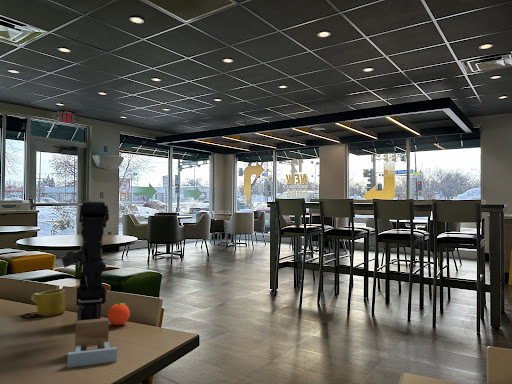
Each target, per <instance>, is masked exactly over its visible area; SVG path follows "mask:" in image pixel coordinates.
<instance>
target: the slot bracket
mask: <svg viewBox="0 0 512 384" xmlns="http://www.w3.org/2000/svg"><path fill="white" fill-rule="evenodd" d="M110 345H111V344H110V341H108V342H104V349H95V350H86V351H81V345H75V344H74V351H70V352H67V365H66V366H67V368H75V367H83V366H89V365H90V366H91V365H98V364H107V363H113V362H114V363H115V362H117V361H118V347H117V346H113V347H111V346H110Z"/></svg>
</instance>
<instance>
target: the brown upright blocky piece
mask: <svg viewBox="0 0 512 384" xmlns="http://www.w3.org/2000/svg"><path fill="white" fill-rule="evenodd" d="M109 327H110V321H109V319H108V317H107V318H105V317H104V318H101V319H92V320H80V321H76V320H75V329H74V330H75V333H74V334H75V336H74V346H75V345H81V351H86V350H95V349H104V342H109V331H110V329H109Z"/></svg>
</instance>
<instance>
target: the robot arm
mask: <svg viewBox="0 0 512 384" xmlns="http://www.w3.org/2000/svg"><path fill="white" fill-rule="evenodd" d="M109 219H110V210H109V207H108V204H107V205H106V202H105V201H94V200H93V201H92V200H91V201H89V200H88V201H87V200H84V201H83V202H82V204H80V208H79V219H78V221H79V223H81V228H82V229H81V237H82V244H81V246H80V247H79V248H80V249H79V250H77V251H72V250H70V251H68V252H65V255H62V256H60V259H61V263H62V266H63V267H64V268H68V267H70V266H72V265H74V264H77V263H78V267H77V268H78V269H80V270H79V272H80V273H81V274H82V275H81V277H80V279H79V286H77V287H76V303H75V304H76V306H78V308H77V310H76V311H77V313H76V320H75V322H76V321H80V320H92V319H102V318H101V317H102V305H104V304H105V303H107V302H106V301H107V289H106V287H105V285H103V278H102V274H103V273H104V272H106V271H107V264H106V263H105V262H104V261H103V260H104V259H103V249H104V245H103V238H104V236H103V235H104V233H105V231H104V230H105V229H107V221H108V222H109Z"/></svg>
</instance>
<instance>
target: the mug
mask: <svg viewBox="0 0 512 384" xmlns="http://www.w3.org/2000/svg"><path fill="white" fill-rule="evenodd" d="M30 300H31V301H32V303H33V304H34V305H35V307H36V309H37V314H38V315H39V316H40V317H41V316H42V317H49V318H50V317H54V316H58V315H60V314H63V313H64V312H65V311H66V290H65V289H63V288H61V289H60V288H59V289H58V288H57V289H50V290H45V291H41V292H40V293H39V292H35V293H33V294H31V295H30Z"/></svg>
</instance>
